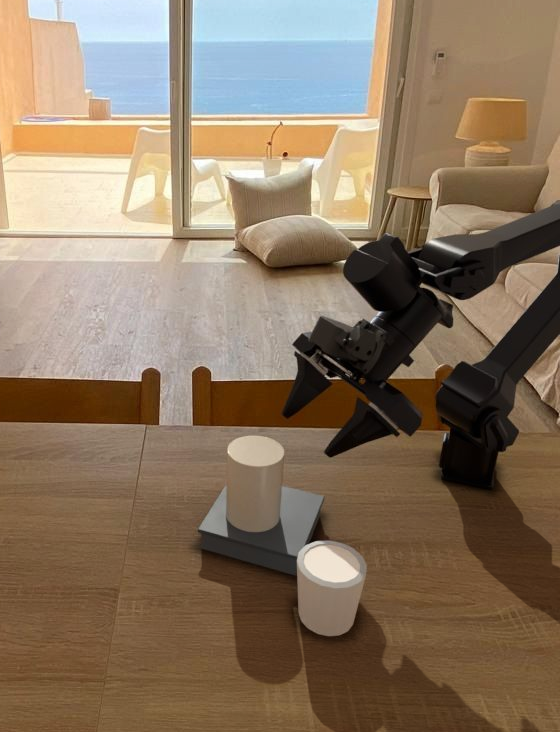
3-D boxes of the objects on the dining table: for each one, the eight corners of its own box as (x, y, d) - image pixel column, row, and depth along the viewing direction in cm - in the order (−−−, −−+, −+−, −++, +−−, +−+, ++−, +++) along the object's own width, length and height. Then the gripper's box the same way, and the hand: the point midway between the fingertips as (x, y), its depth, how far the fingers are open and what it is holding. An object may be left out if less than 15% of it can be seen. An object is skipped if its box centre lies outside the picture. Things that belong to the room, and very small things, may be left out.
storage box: (322, 515, 87) (324, 495, 85) (298, 578, 77) (299, 557, 75) (232, 492, 91) (232, 473, 90) (197, 549, 81) (197, 529, 80)
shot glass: (355, 592, 75) (361, 541, 72) (364, 643, 68) (372, 589, 66) (290, 588, 75) (294, 537, 72) (294, 638, 69) (298, 584, 66)
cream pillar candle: (286, 505, 84) (290, 442, 80) (271, 538, 78) (275, 471, 75) (236, 493, 86) (238, 430, 82) (217, 523, 81) (219, 458, 77)
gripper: (311, 268, 83) (226, 366, 84) (415, 322, 67) (309, 443, 68) (359, 319, 89) (279, 411, 90) (465, 380, 73) (367, 490, 74)
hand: (304, 435), depth 80 cm, fingers open, 9 cm apart
